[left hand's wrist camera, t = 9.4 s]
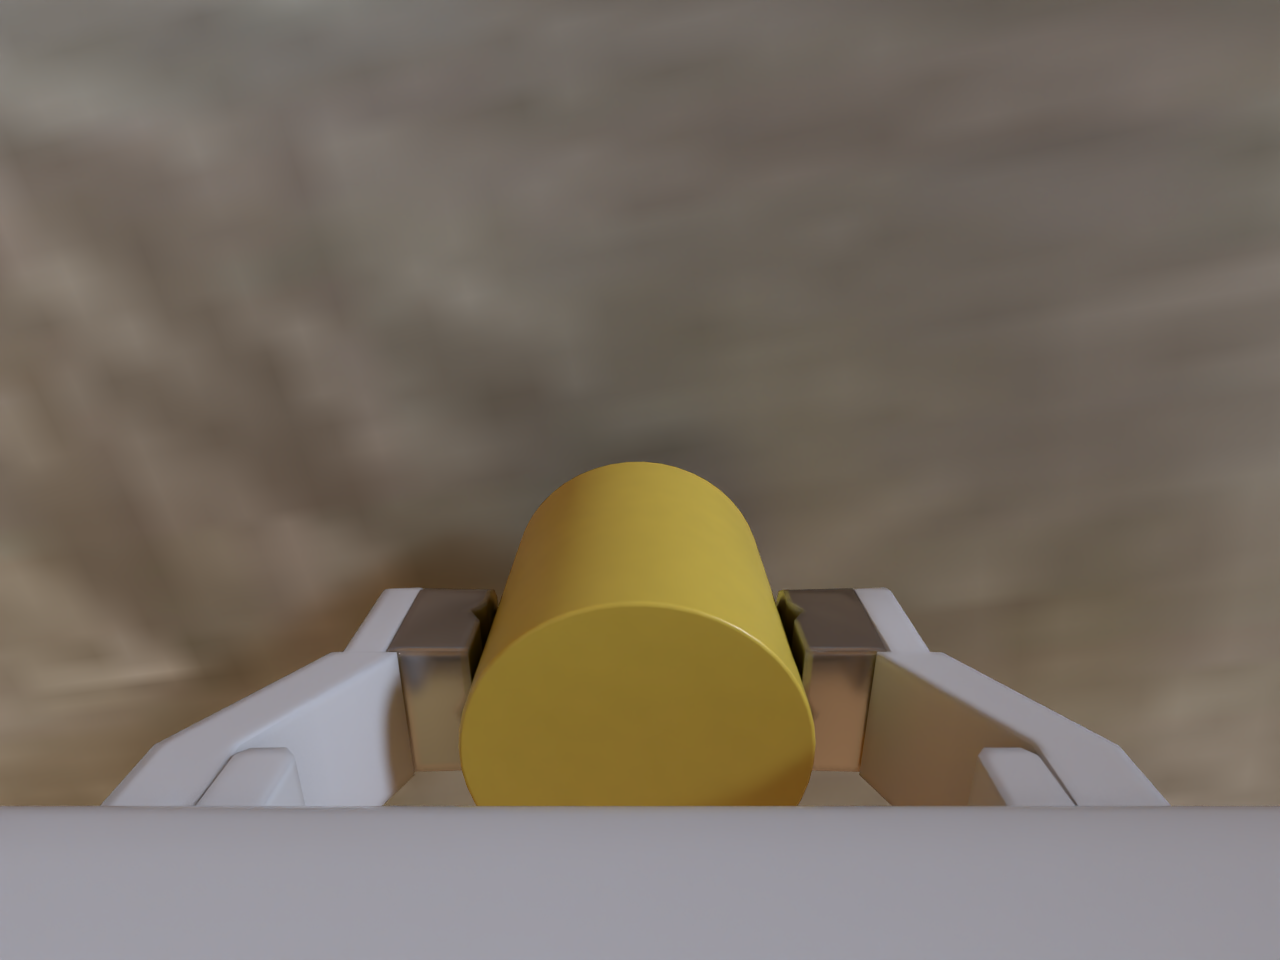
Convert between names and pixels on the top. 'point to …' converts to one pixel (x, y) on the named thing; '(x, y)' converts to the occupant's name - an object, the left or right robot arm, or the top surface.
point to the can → (637, 657)
